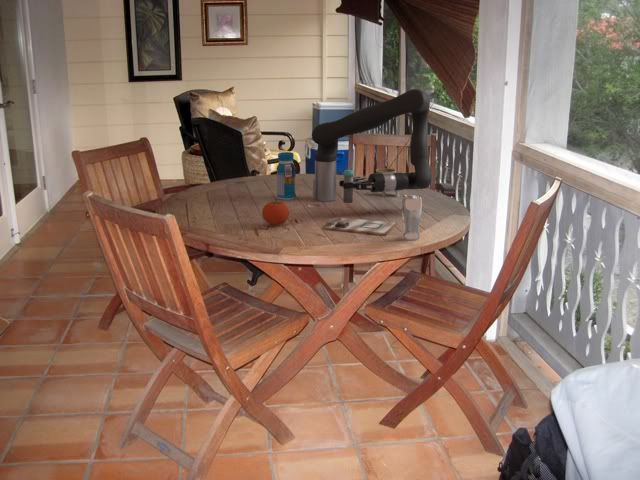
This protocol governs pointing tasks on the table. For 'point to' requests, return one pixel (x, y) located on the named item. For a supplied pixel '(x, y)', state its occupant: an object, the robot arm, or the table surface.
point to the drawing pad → (360, 226)
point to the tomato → (275, 213)
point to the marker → (349, 192)
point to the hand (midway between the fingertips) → (341, 184)
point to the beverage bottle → (286, 176)
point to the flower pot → (385, 170)
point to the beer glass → (411, 216)
